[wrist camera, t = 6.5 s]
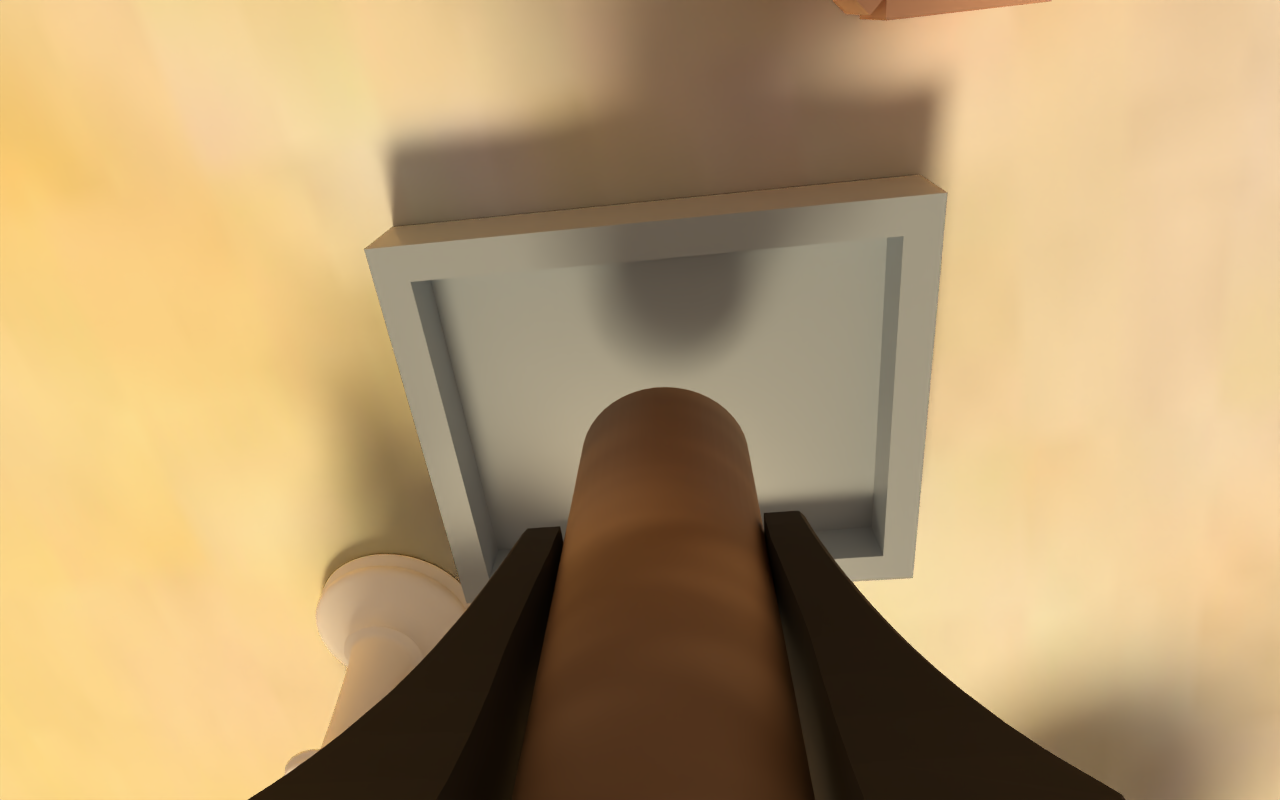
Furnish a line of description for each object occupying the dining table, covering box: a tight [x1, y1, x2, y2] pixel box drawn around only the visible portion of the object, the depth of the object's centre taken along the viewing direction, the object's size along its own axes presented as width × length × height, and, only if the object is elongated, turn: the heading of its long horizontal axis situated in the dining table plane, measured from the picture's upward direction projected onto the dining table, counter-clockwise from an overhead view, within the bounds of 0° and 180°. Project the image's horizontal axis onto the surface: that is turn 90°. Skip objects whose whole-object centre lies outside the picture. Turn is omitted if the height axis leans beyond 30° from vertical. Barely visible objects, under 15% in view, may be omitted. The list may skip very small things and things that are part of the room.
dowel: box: [512, 387, 815, 800], centre depth 12 cm, size 4×4×9 cm
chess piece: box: [284, 554, 471, 776], centre depth 19 cm, size 5×5×10 cm
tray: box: [364, 174, 947, 603], centre depth 18 cm, size 12×10×2 cm
